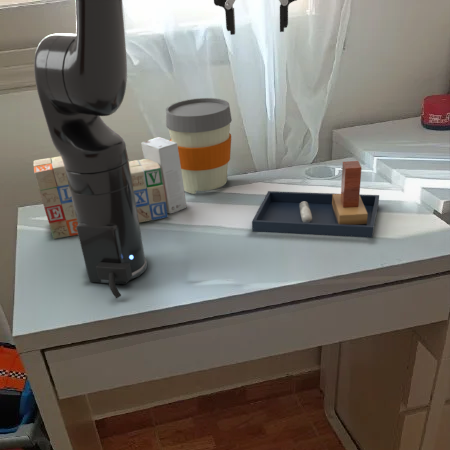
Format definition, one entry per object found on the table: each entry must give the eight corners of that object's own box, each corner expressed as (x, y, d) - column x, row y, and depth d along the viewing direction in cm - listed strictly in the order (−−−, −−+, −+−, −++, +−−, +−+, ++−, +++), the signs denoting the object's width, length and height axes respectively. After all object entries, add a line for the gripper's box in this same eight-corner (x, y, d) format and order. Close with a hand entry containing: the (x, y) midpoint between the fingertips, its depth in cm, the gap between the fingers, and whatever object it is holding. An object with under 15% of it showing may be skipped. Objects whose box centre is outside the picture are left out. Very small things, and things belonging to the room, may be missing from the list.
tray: (371, 242, 100) (373, 227, 98) (252, 235, 105) (251, 221, 103) (378, 209, 109) (379, 195, 108) (268, 204, 114) (268, 190, 112)
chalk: (312, 225, 104) (312, 215, 103) (302, 225, 104) (302, 215, 103) (308, 209, 109) (308, 199, 108) (298, 209, 109) (298, 200, 108)
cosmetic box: (187, 207, 115) (180, 142, 108) (168, 215, 113) (159, 149, 106) (169, 199, 119) (160, 135, 111) (150, 206, 117) (140, 141, 109)
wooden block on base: (366, 229, 102) (371, 173, 95) (338, 231, 102) (341, 175, 96) (357, 207, 108) (361, 154, 102) (331, 209, 109) (334, 156, 102)
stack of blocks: (162, 205, 117) (152, 139, 109) (168, 218, 112) (158, 150, 104) (50, 225, 113) (32, 159, 105) (52, 239, 109) (33, 171, 101)
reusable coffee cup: (241, 175, 126) (237, 97, 117) (227, 199, 117) (221, 116, 108) (184, 173, 129) (176, 97, 120) (166, 197, 120) (155, 116, 111)
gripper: (206, -82, 93) (214, 39, 103) (299, -90, 91) (298, 34, 102) (211, -85, 98) (218, 31, 109) (299, -92, 97) (298, 26, 107)
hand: (257, 32), depth 105 cm, fingers open, 8 cm apart
